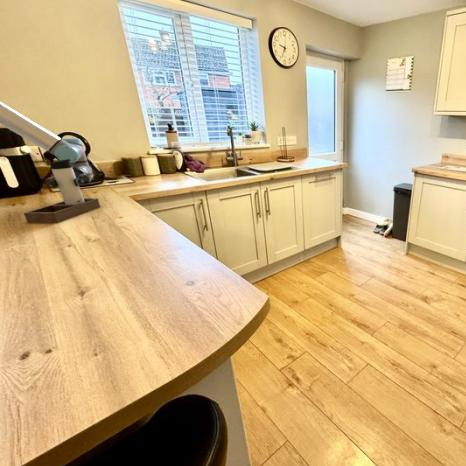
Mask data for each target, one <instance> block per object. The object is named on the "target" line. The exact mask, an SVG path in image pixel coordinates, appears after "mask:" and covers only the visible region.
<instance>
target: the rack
mask: <svg viewBox="0 0 466 466" xmlns="http://www.w3.org/2000/svg"><path fill="white" fill-rule="evenodd" d="M83 198H84V197H83ZM84 201H85V202H84V203H81V204H78V205H66V204H65V202H64V200H62V201H59V202H56V203H53V204H49V205H46V206H43V207H38V208H36V209H32V210H30V211H26V212H23V215H24V217H25V219H26V222H27V224H59V223H62V222H64V221H67V220H70V219H72V218H75V217H77V216H80V215H83V214H85V213H86V214H87V213H89V212H91V211H94V210H96V209H99V208H101V204H100V201H99V198H94V197H93V198H92V197H91V198H84Z"/></svg>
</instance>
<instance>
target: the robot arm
mask: <svg viewBox="0 0 466 466" xmlns="http://www.w3.org/2000/svg"><path fill="white" fill-rule="evenodd" d="M0 125H1V126H3V127H4V128H7V129H8V130H9V131H12V132H13V133H15V134H17V135H19V136H20V137H22V138H24V139H25V140H27V141H28V142H31V143H33V144H34V145H36V146H38V147H39V148H41V149H42V150H45V151H46V152H48V153H50V154H52V155H54V156H55V158H56V159H57V160H58V161H60V160H67V159H70V160H71V161H70V163H71V166H72V169H73V171H74V173H75V176H76V178H75V179H74V180H73V181H74V184H75V186H79V187H80V185H81V184H85V182H86V183H91V182H92V180H94V175H93V169H92V167H91V166H90V164H89V161H88V159H87V155H86V151H85V148H84V144H83V142H82V140H81V139H80V138H77V137H75V138H73V137H71V138H70V137H69V138H66V137H65V138H61V137H60V136H58V135H56V134H54V133H53V132H52V131H49V130H48V129H46V128H45V127H43V126H41V125H39V124H38V123H36V122H35V121H34V120H31V119H29V118H28V117H26V116H25V115H24V114H22V113H20V112H19V111H17V110H15V109H13V108H12V107H10V106H9V105H7V104H5V103H4V102H2V101H0ZM45 181H46V184H47V186H50V187H51V188H52V189H56V188H57V187H58V184H57V182H56V179H55V177H54V174H53V175H52V176H49V177H48V178H45ZM58 188H59V187H58Z"/></svg>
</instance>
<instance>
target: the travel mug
mask: <svg viewBox="0 0 466 466" xmlns="http://www.w3.org/2000/svg"><path fill="white" fill-rule="evenodd" d="M70 161H71V160H70V159H67V160H55V161H52V162H49V166H50V169H51V172H52V174H53V175H54V177H55V179H56V182H57V184H58V189H59V192H60V194H61V197H62V199H63V201H64V202H65V204H66V205H78V204H81V203H84V202H85V201H84V196H83V193H82V190H81V187H80V185H79V186H75V184H74V181H73V180H74V179H75V178H76V176H75V173H74V171H73V169H72V166H71V163H70Z"/></svg>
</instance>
